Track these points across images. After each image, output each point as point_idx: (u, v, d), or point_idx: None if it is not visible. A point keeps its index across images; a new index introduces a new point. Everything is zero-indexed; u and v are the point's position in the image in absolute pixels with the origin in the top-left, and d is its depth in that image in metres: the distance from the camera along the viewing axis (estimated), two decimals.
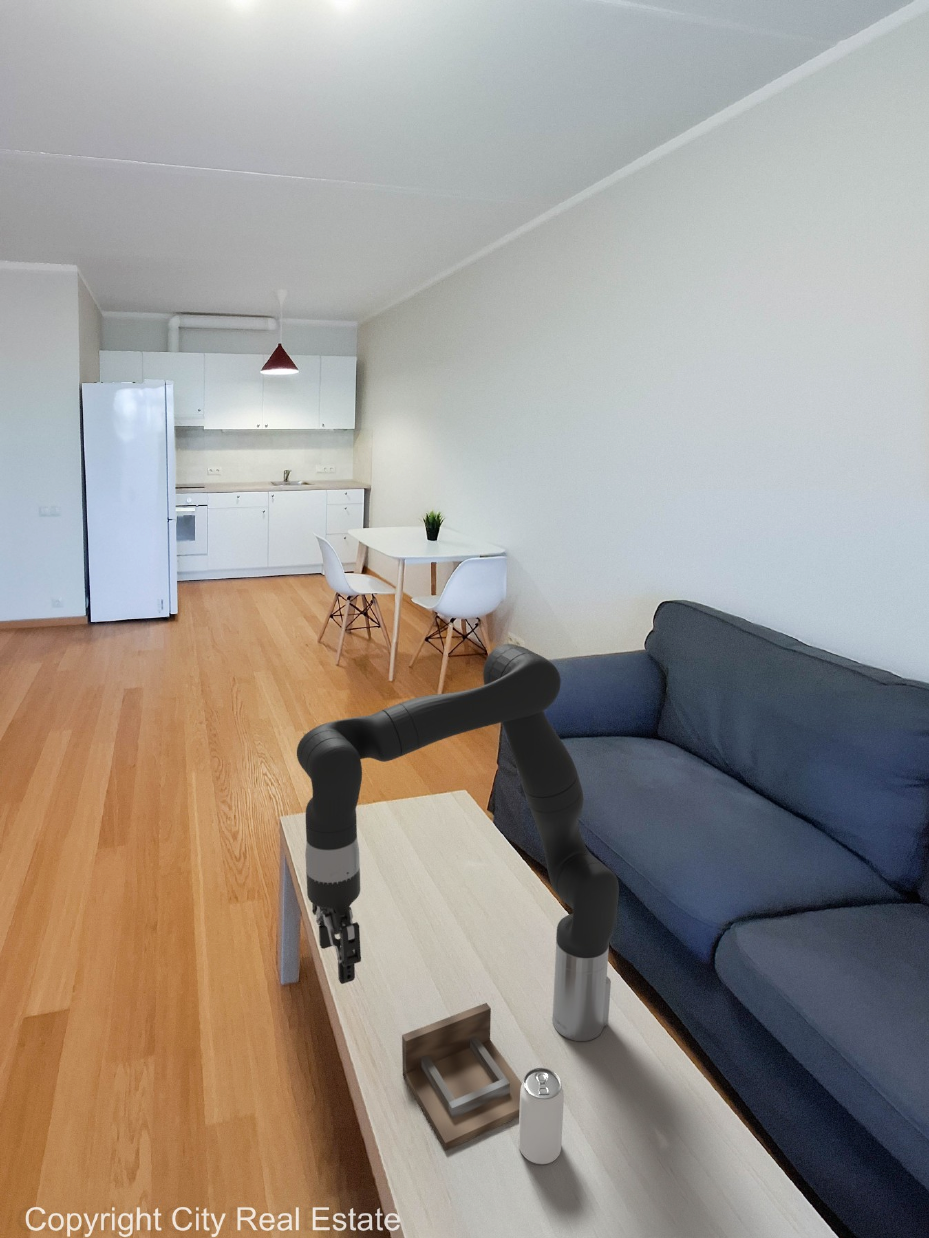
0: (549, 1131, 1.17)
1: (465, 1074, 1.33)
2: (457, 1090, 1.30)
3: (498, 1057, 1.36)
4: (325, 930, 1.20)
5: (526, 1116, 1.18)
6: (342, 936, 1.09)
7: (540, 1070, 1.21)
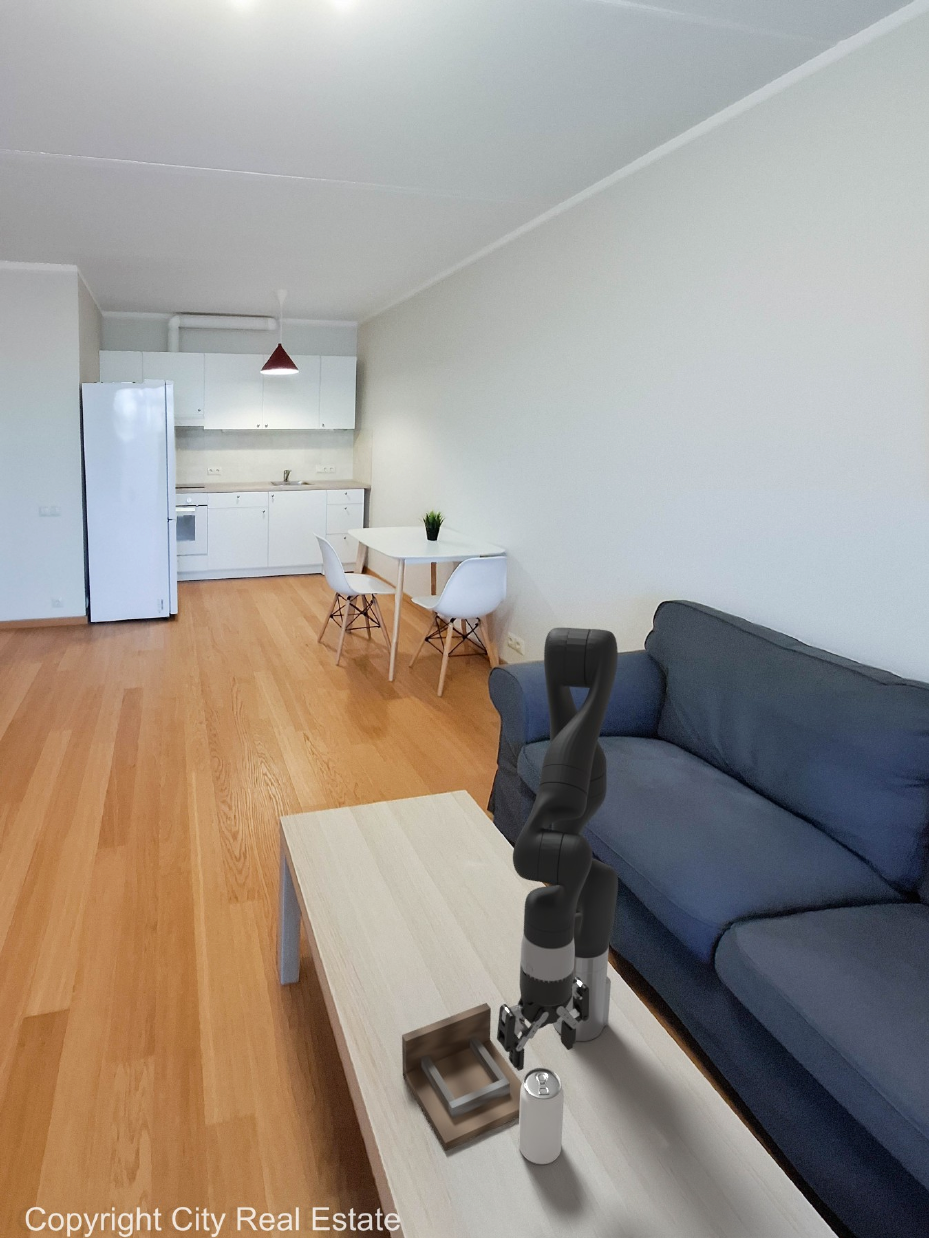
0: (549, 1131, 1.17)
1: (465, 1074, 1.33)
2: (457, 1090, 1.30)
3: (498, 1057, 1.36)
4: None
5: (526, 1116, 1.18)
6: (587, 992, 1.17)
7: (540, 1070, 1.21)
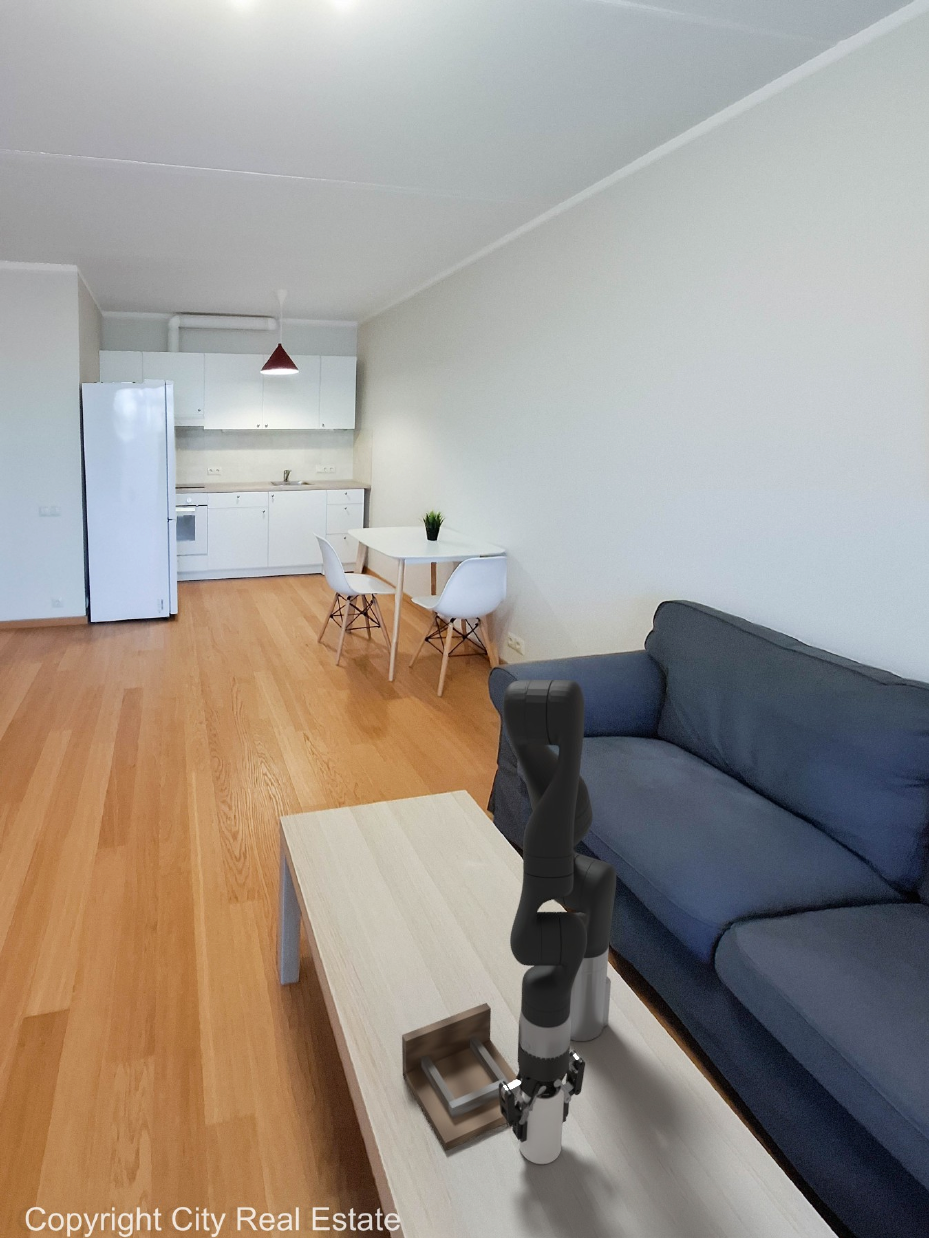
0: (549, 1131, 1.17)
1: (465, 1074, 1.33)
2: (457, 1090, 1.30)
3: (498, 1057, 1.36)
4: None
5: None
6: (583, 1067, 1.20)
7: None
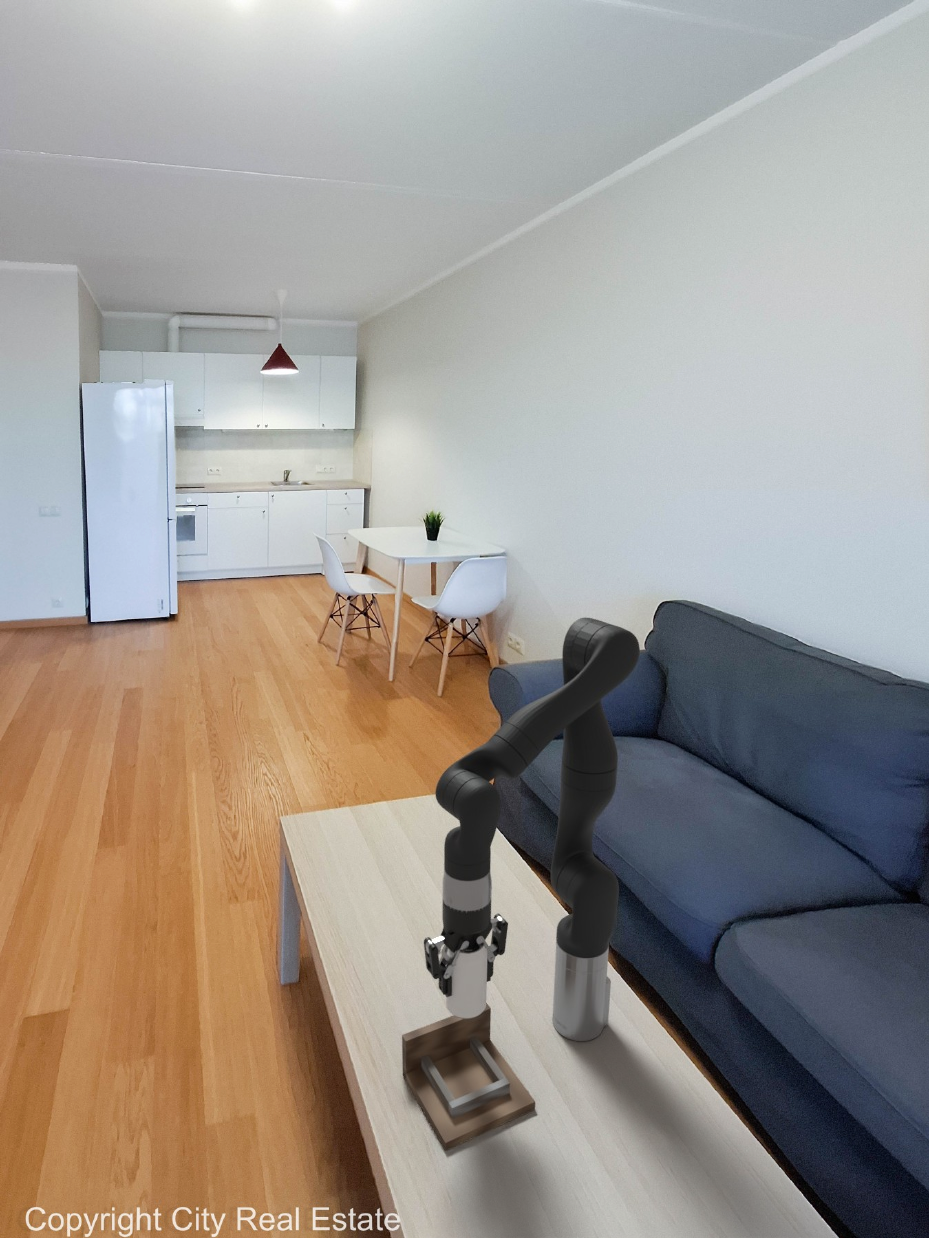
0: (473, 985, 1.24)
1: (465, 1074, 1.33)
2: (457, 1090, 1.30)
3: (498, 1057, 1.36)
4: None
5: None
6: (506, 927, 1.27)
7: None
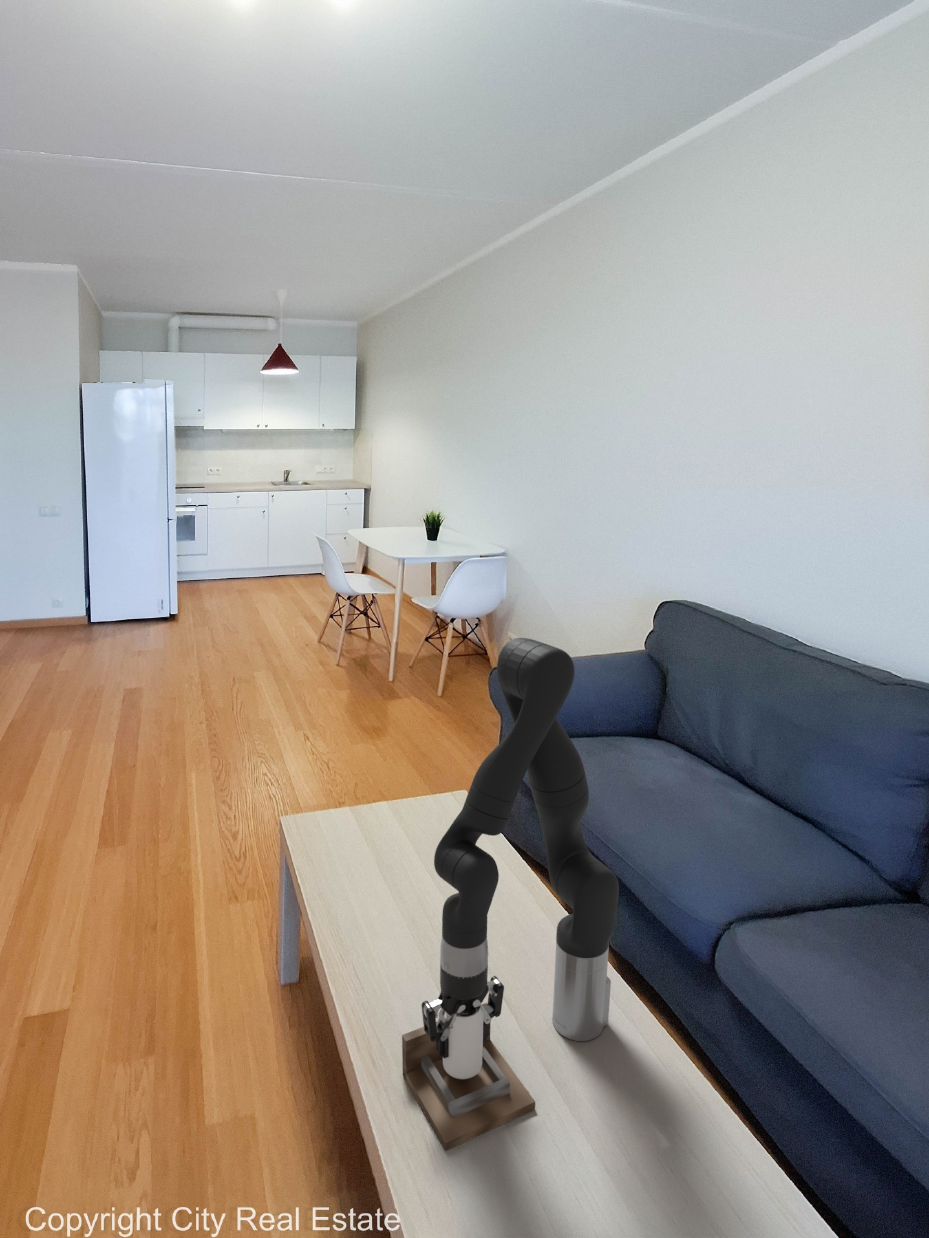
0: (469, 1047, 1.27)
1: None
2: (457, 1090, 1.30)
3: (498, 1057, 1.36)
4: None
5: None
6: (502, 990, 1.30)
7: None
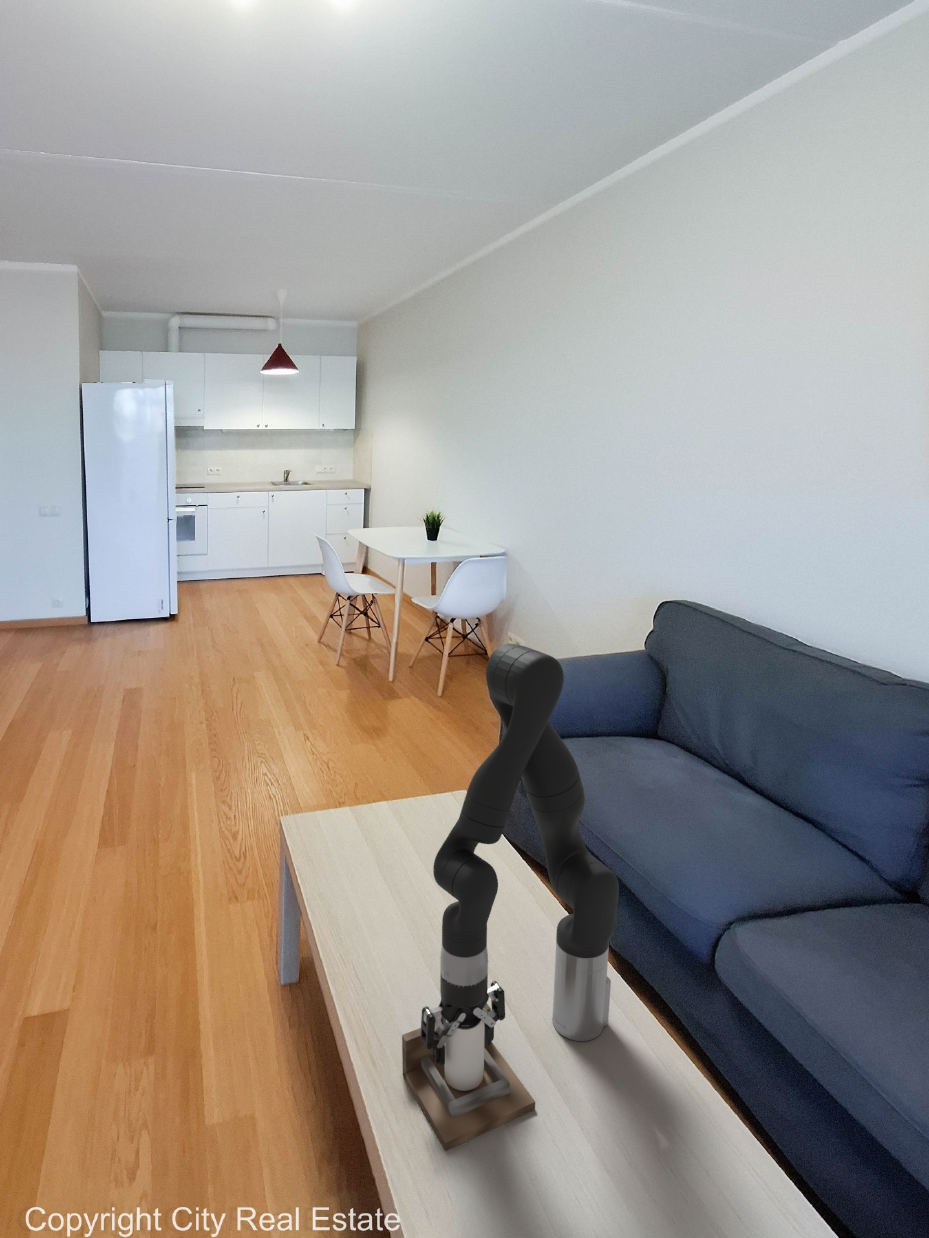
0: (470, 1059, 1.28)
1: None
2: (457, 1090, 1.30)
3: (498, 1057, 1.36)
4: None
5: (449, 1046, 1.28)
6: (503, 995, 1.31)
7: None
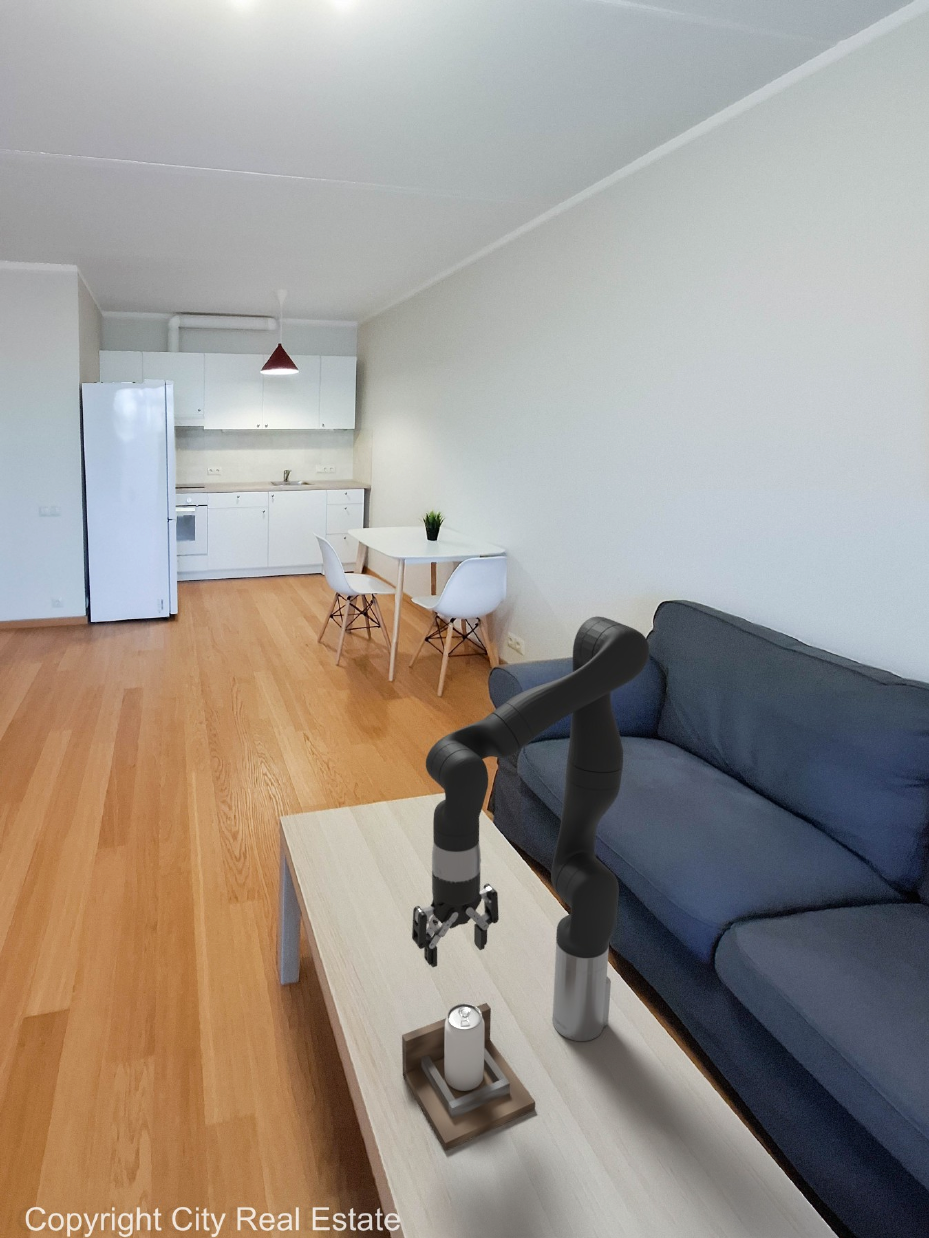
0: (470, 1059, 1.28)
1: None
2: (457, 1090, 1.30)
3: (498, 1057, 1.36)
4: None
5: (449, 1046, 1.28)
6: (496, 896, 1.28)
7: (464, 1006, 1.32)
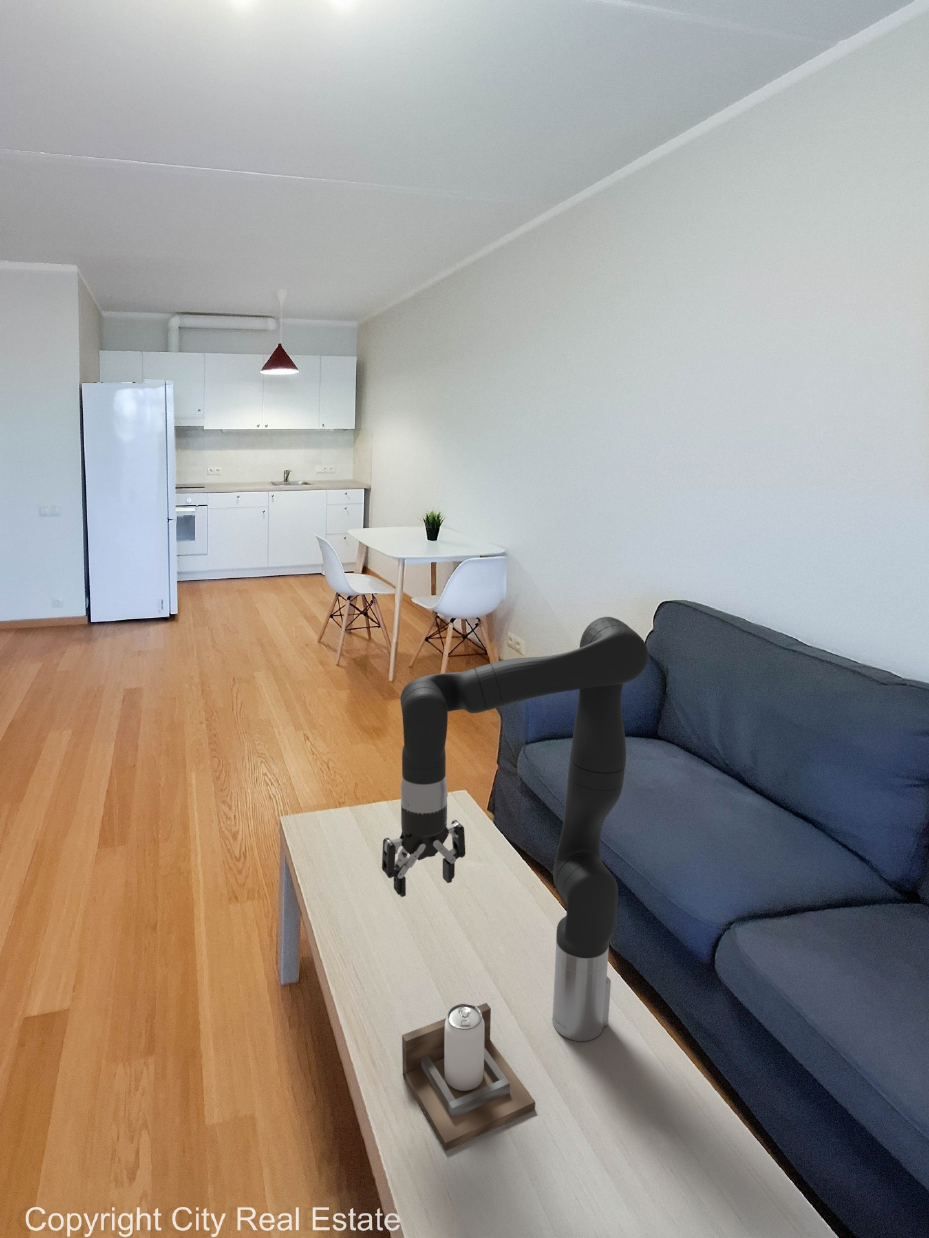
0: (470, 1059, 1.28)
1: None
2: (457, 1090, 1.30)
3: (498, 1057, 1.36)
4: None
5: (449, 1046, 1.28)
6: (463, 831, 1.35)
7: (464, 1006, 1.32)
